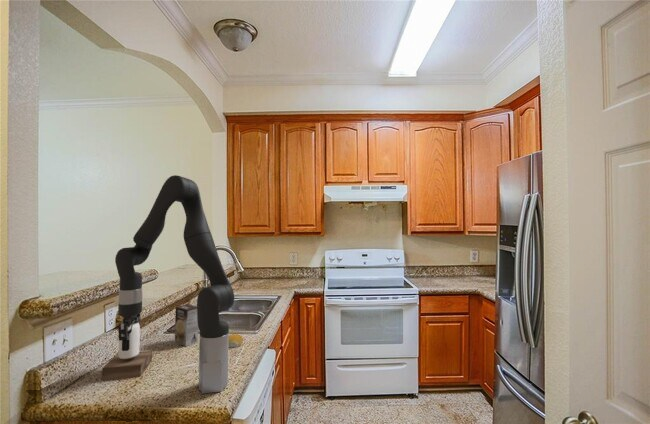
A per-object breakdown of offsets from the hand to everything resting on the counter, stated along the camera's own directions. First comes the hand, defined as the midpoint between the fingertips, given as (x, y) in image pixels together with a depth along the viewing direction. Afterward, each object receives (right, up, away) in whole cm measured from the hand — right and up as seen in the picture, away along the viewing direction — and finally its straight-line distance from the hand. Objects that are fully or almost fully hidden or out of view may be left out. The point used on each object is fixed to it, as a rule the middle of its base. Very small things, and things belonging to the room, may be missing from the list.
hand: (129, 346), depth 114 cm
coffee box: (+9, -10, +26) cm, 30 cm away
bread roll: (+31, -10, +25) cm, 41 cm away
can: (0, -3, 0) cm, 3 cm away
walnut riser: (0, -9, 0) cm, 9 cm away
